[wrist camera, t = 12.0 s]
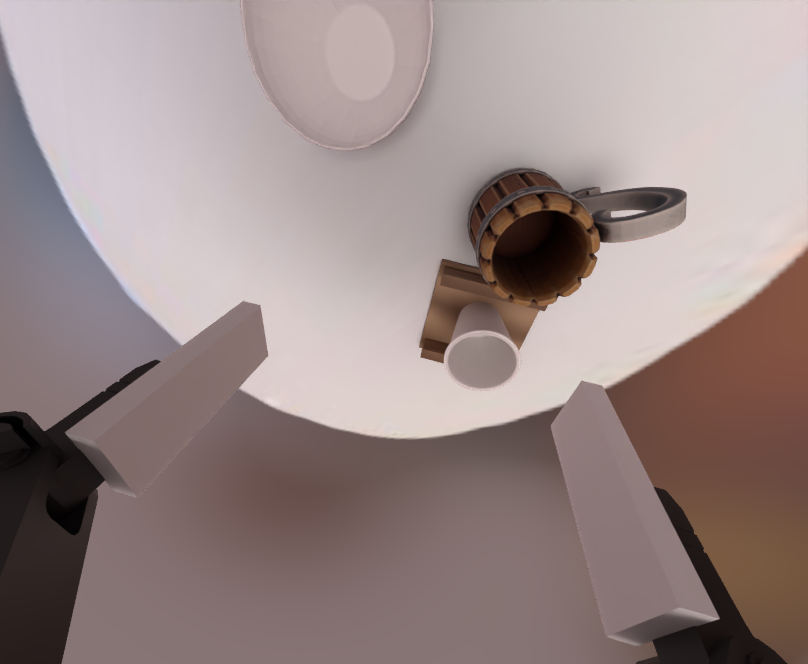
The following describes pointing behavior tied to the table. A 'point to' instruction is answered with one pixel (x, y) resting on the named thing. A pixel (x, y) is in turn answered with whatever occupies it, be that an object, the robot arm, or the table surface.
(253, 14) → the bowl
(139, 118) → the table surface
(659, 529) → the robot arm
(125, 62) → the table surface
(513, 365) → the dixie cup
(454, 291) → the rail stand
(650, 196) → the mug
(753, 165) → the table surface
